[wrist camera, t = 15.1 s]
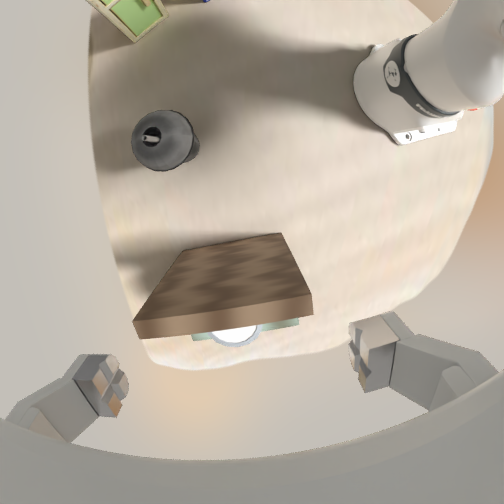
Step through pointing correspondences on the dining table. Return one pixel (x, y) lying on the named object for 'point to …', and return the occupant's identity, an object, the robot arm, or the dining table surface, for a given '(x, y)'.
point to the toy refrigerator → (132, 15)
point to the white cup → (236, 335)
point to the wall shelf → (227, 291)
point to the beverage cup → (164, 140)
